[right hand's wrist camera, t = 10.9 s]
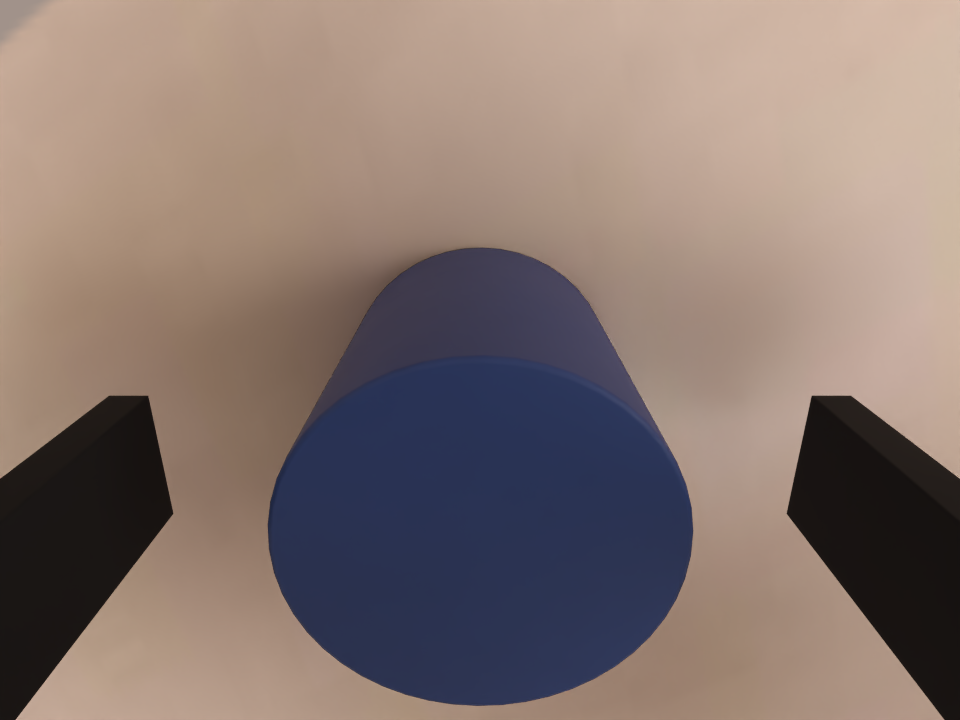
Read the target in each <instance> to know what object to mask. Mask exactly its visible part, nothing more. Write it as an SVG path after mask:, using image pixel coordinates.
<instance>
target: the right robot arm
mask: <svg viewBox="0 0 960 720" xmlns="http://www.w3.org/2000/svg"><path fill="white" fill-rule="evenodd" d="M172 515H173V510H172V505H171V501H170V496H169V491H168V487H167V482H166V477H165V473H164V468H163V463H162V458H161V454H160V449H159V444H158V440H157V435H156V430H155V426H154V421H153V416H152V412H151V407H150V402H149V398H148V396H108V397H107V398H106V399H104V400H103V401H102V402H100V403H99V404H98V405H96V406H95V407H94V408H93V409H91V410H90V411H89V412H87V413H86V414H85V415H83V416H82V417H81V418H79V419H78V420H77V421H75V422H74V423H73V424H72V425H70V426H69V427H68V428H66V429H65V430H64V431H62V432H61V433H60V434H58V435H57V436H56V437H55V438H53V439H52V440H51V441H49V442H48V443H47V444H45V445H44V446H43V447H41V448H40V449H39V450H37V451H36V452H35V453H34V454H32V455H31V456H30V457H28V458H27V459H26V460H24V461H23V462H22V463H20V464H19V465H18V466H17V467H15V468H14V469H13V470H11V471H10V472H9V473H7V474H6V475H5V476H3V477H2V478H1V479H0V720H16V718H17V717H18V716H19V714H20V713H21V712H22V711H23V709H24V708H25V707H26V705H27V704H28V703H29V701H30V700H31V699H32V697H33V696H34V695H35V694H36V692H37V691H38V690H39V688H40V687H41V686H42V684H43V683H44V682H45V680H46V679H47V678H48V677H49V675H50V674H51V673H52V671H53V670H54V669H55V667H56V666H57V665H58V663H59V662H60V661H61V660H62V658H63V657H64V656H65V654H66V653H67V652H68V650H69V649H70V648H71V647H72V645H73V644H74V643H75V641H76V640H77V639H78V637H79V636H80V635H81V633H82V632H83V631H84V630H85V628H86V627H87V626H88V624H89V623H90V622H91V620H92V619H93V618H94V616H95V615H96V614H97V613H98V611H99V610H100V609H101V607H102V606H103V605H104V603H105V602H106V601H107V599H108V598H109V597H110V596H111V594H112V593H113V592H114V590H115V589H116V588H117V586H118V585H119V584H120V583H121V581H122V580H123V579H124V577H125V576H126V575H127V573H128V572H129V571H130V569H131V568H132V567H133V566H134V564H135V563H136V562H137V560H138V559H139V558H140V556H141V555H142V554H143V552H144V551H145V550H146V549H147V547H148V546H149V545H150V543H151V542H152V541H153V539H154V538H155V537H156V535H157V534H158V533H159V532H160V530H161V529H162V528H163V526H164V525H165V524H166V522H167V521H168V520H169V519H170V517H171V516H172ZM787 515H788V516H789V517H790V519H791V520H792V521H793V522H794V524H795V525H796V526H797V528H798V529H799V530H800V532H801V533H802V534H803V535H804V537H805V538H806V539H807V541H808V542H809V543H810V545H811V546H812V547H813V549H814V550H815V551H816V552H817V554H818V555H819V556H820V558H821V559H822V560H823V562H824V563H825V564H826V566H827V567H828V568H829V569H830V571H831V572H832V573H833V575H834V576H835V577H836V579H837V580H838V581H839V583H840V584H841V585H842V586H843V588H844V589H845V590H846V592H847V593H848V594H849V596H850V597H851V598H852V599H853V601H854V602H855V603H856V605H857V606H858V607H859V609H860V610H861V611H862V613H863V614H864V615H865V616H866V618H867V619H868V620H869V622H870V623H871V624H872V626H873V627H874V628H875V630H876V631H877V632H878V633H879V635H880V636H881V637H882V639H883V640H884V641H885V643H886V644H887V645H888V647H889V648H890V649H891V650H892V652H893V653H894V654H895V656H896V657H897V658H898V660H899V661H900V662H901V664H902V665H903V666H904V667H905V669H906V670H907V671H908V673H909V674H910V675H911V677H912V678H913V679H914V680H915V682H916V683H917V684H918V686H919V687H920V688H921V690H922V691H923V692H924V694H925V695H926V696H927V697H928V699H929V700H930V701H931V703H932V704H933V705H934V707H935V708H936V709H937V711H938V712H939V713H940V714H941V716H942V717H943V718H944V720H960V479H959V478H958V477H957V476H955V475H954V474H953V473H951V472H950V471H949V470H947V469H946V468H945V467H943V466H942V465H941V464H940V463H938V462H937V461H936V460H934V459H933V458H932V457H930V456H929V455H928V454H926V453H925V452H924V451H923V450H921V449H920V448H919V447H917V446H916V445H915V444H913V443H912V442H911V441H909V440H908V439H907V438H905V437H904V436H903V435H902V434H900V433H899V432H898V431H896V430H895V429H894V428H892V427H891V426H890V425H888V424H887V423H886V422H885V421H883V420H882V419H881V418H879V417H878V416H877V415H875V414H874V413H873V412H871V411H870V410H869V409H867V408H866V407H865V406H864V405H862V404H861V403H860V402H858V401H857V400H856V399H854V398H853V397H852V396H812V398H811V402H810V407H809V412H808V416H807V421H806V426H805V430H804V435H803V440H802V444H801V449H800V454H799V458H798V463H797V468H796V472H795V477H794V482H793V487H792V491H791V496H790V501H789V505H788V510H787Z"/></svg>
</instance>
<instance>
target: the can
mask: <svg viewBox="0 0 960 720" xmlns="http://www.w3.org/2000/svg"><path fill="white" fill-rule="evenodd" d="M268 538H269V551H270V556H271V560H272V565H273V570H274V574H275V576H276V579H277V582H278V584H279V587H280V589H281V592H282V594H283V596H284V598H285V600H286V602H287V603H288V605H289V607H290V609H291V611H292V612H293V614H294V615H295V617H296V618H297V619H298V621H299V622H300V623H301V625H302V626H303V627H304V629H305V630H306V631H307V633H308V634H309V635H310V636H311V637H312V638H313V639H314V640H315V641H316V642H317V643H318V644H319V645H320V646H321V647H322V648H323V649H324V650H326V651H327V652H328V653H329V654H331V655H332V656H333V657H334V658H336V659H337V660H338V661H339V662H341V663H342V664H343V665H345V666H347V667H348V668H350V669H351V670H353V671H355V672H356V673H358V674H359V675H361V676H363V677H365V678H367V679H369V680H371V681H373V682H375V683H377V684H379V685H381V686H384V687H386V688H389V689H392V690H394V691H397V692H400V693H403V694H405V695H409V696H413V697H417V698H421V699H425V700H429V701H435V702H441V703H448V704H456V705H473V706H485V705H505V704H513V703H521V702H527V701H532V700H536V699H540V698H545V697H549V696H552V695H555V694H558V693H561V692H564V691H567V690H570V689H573V688H575V687H577V686H580V685H582V684H584V683H586V682H588V681H591V680H593V679H595V678H596V677H598V676H600V675H602V674H603V673H605V672H607V671H608V670H610V669H612V668H613V667H615V666H616V665H618V664H619V663H620V662H622V661H623V660H624V659H626V658H627V657H628V656H630V655H631V654H632V653H634V652H635V651H636V650H637V649H638V648H639V647H640V646H641V645H642V644H643V643H644V642H645V641H646V640H647V639H648V638H649V637H650V636H651V635H652V634H653V632H654V631H655V630H656V629H657V627H658V626H659V625H660V624H661V622H662V621H663V620H664V619H665V617H666V615H667V614H668V612H669V610H670V609H671V607H672V605H673V604H674V602H675V601H676V599H677V596H678V594H679V592H680V589H681V587H682V584H683V582H684V580H685V577H686V573H687V569H688V565H689V561H690V557H691V549H692V538H693V522H692V508H691V503H690V499H689V495H688V491H687V486H686V483H685V481H684V478H683V476H682V473H681V471H680V469H679V466H678V464H677V461H676V460H675V458H674V456H673V454H672V452H671V451H670V449H669V447H668V445H667V443H666V442H665V440H664V438H663V436H662V434H661V432H660V431H659V429H658V427H657V425H656V423H655V422H654V420H653V418H652V416H651V414H650V413H649V411H648V409H647V407H646V405H645V404H644V402H643V400H642V398H641V396H640V394H639V393H638V391H637V389H636V387H635V385H634V384H633V382H632V380H631V378H630V376H629V375H628V373H627V371H626V369H625V367H624V365H623V364H622V362H621V360H620V358H619V356H618V355H617V353H616V351H615V349H614V347H613V346H612V344H611V342H610V340H609V338H608V336H607V335H606V333H605V331H604V329H603V327H602V326H601V324H600V322H599V320H598V318H597V317H596V315H595V313H594V311H593V310H592V308H591V306H590V305H589V303H588V301H587V300H586V299H585V298H584V296H583V295H582V294H581V293H580V292H579V290H578V289H577V288H576V287H575V286H574V285H573V284H572V283H571V282H569V281H568V280H567V279H566V278H565V277H564V276H563V275H561V274H560V273H558V272H557V271H555V270H554V269H553V268H551V267H550V266H548V265H546V264H544V263H542V262H540V261H538V260H536V259H534V258H531V257H528V256H525V255H522V254H520V253H516V252H511V251H507V250H502V249H492V248H468V249H460V250H455V251H449V252H445V253H442V254H439V255H436V256H433V257H430V258H428V259H426V260H424V261H422V262H420V263H417V264H415V265H414V266H412V267H411V268H409V269H407V270H406V271H404V272H403V273H401V274H400V275H399V276H398V277H396V278H395V279H394V280H393V281H392V282H391V283H390V284H388V285H387V286H386V288H385V289H384V290H383V291H382V292H381V293H380V294H379V296H378V297H377V298H376V299H375V301H374V302H373V304H372V306H371V307H370V309H369V310H368V312H367V313H366V315H365V317H364V319H363V321H362V322H361V324H360V326H359V328H358V330H357V331H356V333H355V335H354V337H353V339H352V340H351V342H350V344H349V346H348V348H347V349H346V351H345V353H344V355H343V357H342V358H341V360H340V362H339V364H338V366H337V367H336V369H335V371H334V373H333V375H332V376H331V378H330V380H329V382H328V383H327V385H326V387H325V389H324V391H323V392H322V394H321V396H320V398H319V400H318V401H317V403H316V405H315V407H314V409H313V410H312V412H311V414H310V416H309V418H308V419H307V421H306V423H305V425H304V427H303V428H302V430H301V432H300V434H299V436H298V437H297V439H296V441H295V443H294V445H293V446H292V448H291V450H290V452H289V454H288V455H287V457H286V459H285V462H284V464H283V466H282V468H281V470H280V473H279V475H278V477H277V479H276V483H275V487H274V490H273V494H272V497H271V501H270V509H269V518H268Z"/></svg>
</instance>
